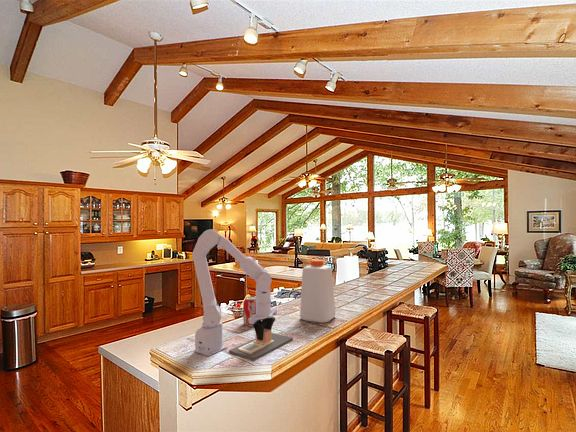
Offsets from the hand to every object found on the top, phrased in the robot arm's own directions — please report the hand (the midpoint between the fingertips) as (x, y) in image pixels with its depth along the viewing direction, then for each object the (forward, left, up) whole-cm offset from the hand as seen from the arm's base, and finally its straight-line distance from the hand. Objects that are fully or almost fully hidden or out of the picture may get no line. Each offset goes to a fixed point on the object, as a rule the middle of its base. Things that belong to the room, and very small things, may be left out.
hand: (263, 338), depth 121 cm
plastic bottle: (+41, 0, -3) cm, 41 cm away
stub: (0, 0, -2) cm, 2 cm away
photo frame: (-7, 0, -2) cm, 7 cm away
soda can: (+16, +21, -3) cm, 27 cm away
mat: (-1, 0, -2) cm, 3 cm away
